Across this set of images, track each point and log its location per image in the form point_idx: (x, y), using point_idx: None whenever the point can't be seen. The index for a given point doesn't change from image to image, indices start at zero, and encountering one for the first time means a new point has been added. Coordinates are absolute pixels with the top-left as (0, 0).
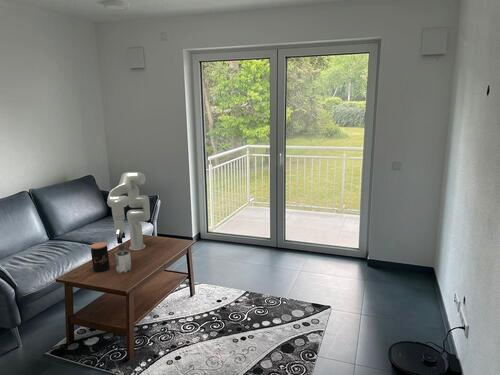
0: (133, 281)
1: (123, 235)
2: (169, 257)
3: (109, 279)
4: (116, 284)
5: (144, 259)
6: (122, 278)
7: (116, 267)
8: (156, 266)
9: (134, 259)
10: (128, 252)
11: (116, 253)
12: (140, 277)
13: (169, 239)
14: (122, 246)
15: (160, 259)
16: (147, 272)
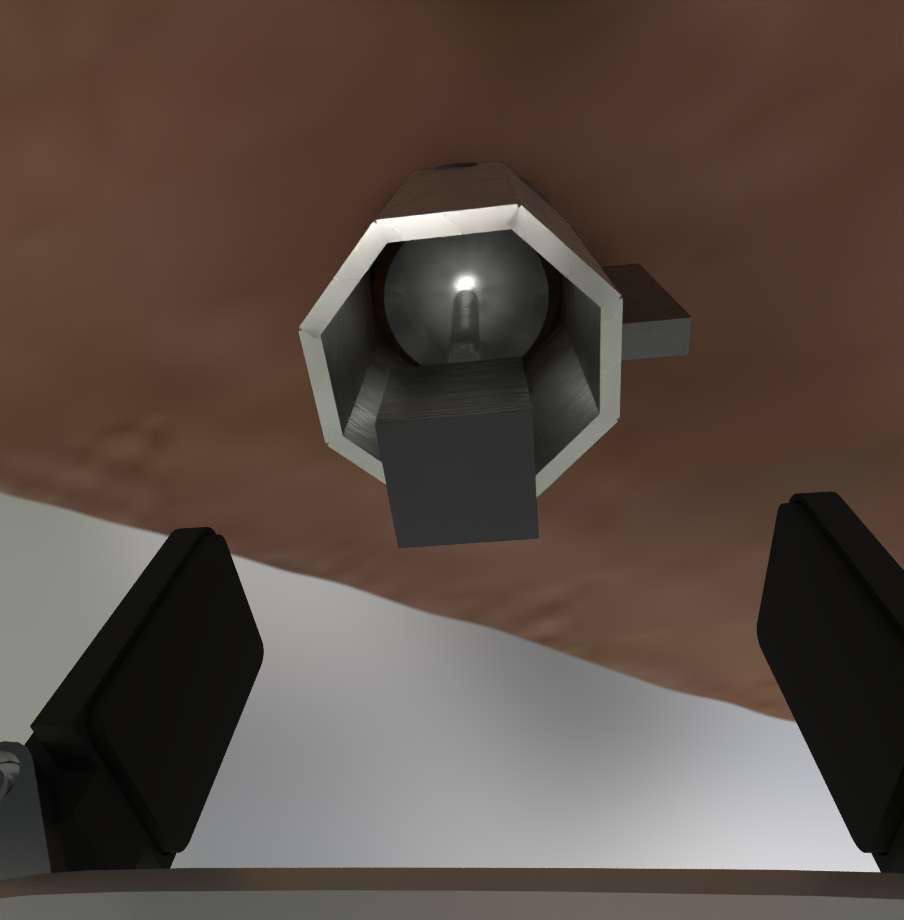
0: (132, 478)
1: (811, 701)
2: (738, 692)
3: (128, 145)
4: (11, 304)
5: (776, 464)
6: (187, 332)
7: (403, 182)
8: (517, 618)
9: (832, 328)
10: (536, 466)
11: (478, 226)
12: (238, 524)
13: None
14: (394, 511)
15: (710, 626)
16: (366, 565)
